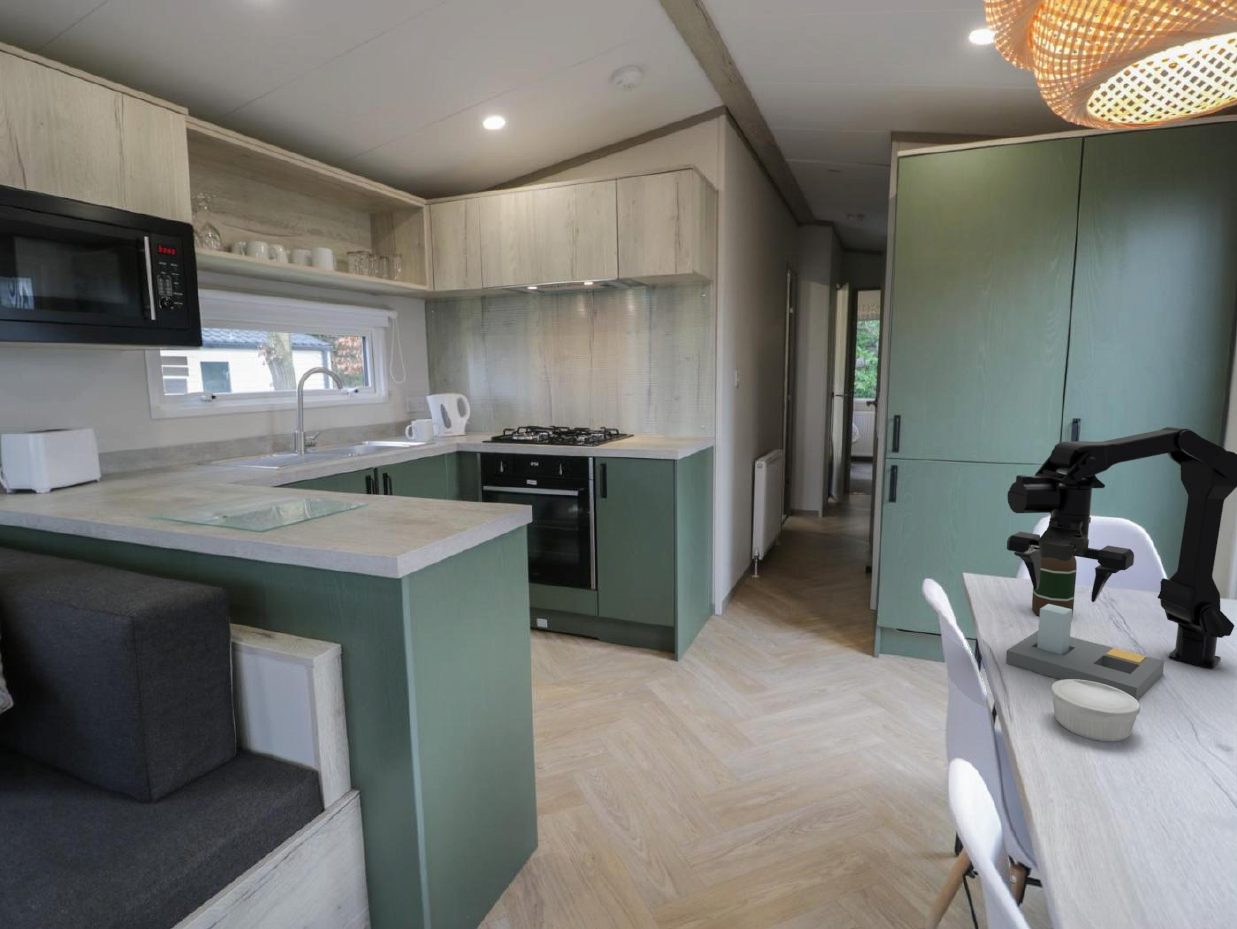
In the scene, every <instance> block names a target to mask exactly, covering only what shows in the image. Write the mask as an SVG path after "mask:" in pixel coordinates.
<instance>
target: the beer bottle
mask: <svg viewBox="0 0 1237 929" xmlns="http://www.w3.org/2000/svg"><path fill="white" fill-rule="evenodd" d="M1049 514H1050V516H1049V517H1050V518H1051V517H1052V512H1050V513H1049ZM1050 518H1049V519H1050ZM1077 570H1078V569H1077V559H1076V556H1072V558H1071V559H1070V560H1069V561H1060V560H1059V559H1055V558H1049V557H1048V558H1044V557H1041V571H1040V583H1039V588H1038V589H1037V590H1035V589H1034V587H1033V586H1032V587H1033V588H1032V598H1031V609H1032V612H1033V613H1034V615H1036V616H1038V617H1040V608H1042V607H1044V606H1045V605H1047V604H1051V605H1056V606H1060V607H1064V608H1069V609H1072V615H1073V614H1074V605H1075V604H1074V603H1075V595H1076V594H1075V592H1076V582H1077V581H1076V580H1077Z"/></svg>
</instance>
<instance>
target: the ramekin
mask: <svg viewBox="0 0 1237 929" xmlns="http://www.w3.org/2000/svg"><path fill="white" fill-rule="evenodd" d="M1050 694H1051V697H1052V702H1053V712H1054V713H1053V714H1054V717H1055V719H1056V720H1057V722H1058V723H1059V724H1060V725H1061V726H1062V727H1063V728H1064V729H1065V730H1068V731H1070V732H1072V733H1073V734H1076V735H1078V736H1081V737H1084V738H1087V739H1090V740H1094V741H1101V742H1108V743H1109V742H1114V743H1115V742H1121V741H1123V740H1125V739H1127V738H1128V737H1129V736H1130V735H1131V734H1132V731H1133V728H1134V725H1135V722H1136V719H1137V717H1138V716H1139V714H1140V711H1141V704H1140V702H1139V701H1138V700H1136V699H1135V698H1134V697H1132V696H1131V695H1129V694H1127V693H1125V692H1123V691H1121V690H1119V689H1116V688H1114V687H1111V686H1108V685H1105V684H1101V683H1097V682H1092V681H1087V680H1078V679H1066V680H1061V679H1059V680H1057V681H1054V683H1052V685H1051V690H1050Z"/></svg>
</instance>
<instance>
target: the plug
mask: <svg viewBox="0 0 1237 929" xmlns="http://www.w3.org/2000/svg"><path fill="white" fill-rule="evenodd" d="M1072 618H1073V614H1072V609H1069V608H1064V607H1060V606H1056V605H1051V604H1047V605H1045V606H1044V607H1042V608H1040V616H1038V619H1039V620H1038V630H1037V631H1038V644H1037V648H1039V649H1042V650H1046V651H1049V652H1053V653H1057V654H1060V655H1066V654H1067V653H1069V643H1070V637H1071V630H1072Z"/></svg>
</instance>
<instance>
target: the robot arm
mask: <svg viewBox="0 0 1237 929" xmlns="http://www.w3.org/2000/svg"><path fill="white" fill-rule="evenodd" d="M1165 454H1167V455H1168V457H1169V458H1170V460H1172V461H1173V462H1175V463H1176V464H1177V465H1178V466H1180V481H1181V483H1182V485H1183V487H1184V489H1185V491H1186V494H1187V504H1186V511H1185V516H1184V517H1185V518H1184V524H1183V530H1182V532H1183V533H1182V538H1181V546H1180V549H1179V550H1180V551H1179V557H1178V558H1179V559H1178V564H1177V565H1178V566H1177V570H1176V572H1175V573H1174V574H1172V576H1170V578H1164V577H1163V578H1161V580H1160V590H1159V593H1158V596H1157V599H1158V600H1160V606H1161V608H1162V609H1163V610H1164V612H1165V617H1166V620H1168V621H1170V622H1173V623H1176V624H1177V631H1176V639H1175V640H1176V641H1175V648H1174V649H1173V650H1172V651H1171V652H1170V653H1169V654H1168V658H1169V659H1172V660H1176V661H1180V662H1184V663H1188V664H1192V665H1196V666H1201V667H1202V668H1208V669H1215V667H1216V666H1217V665H1218V663H1219V662H1220V661H1221V656H1219V655H1216V650H1217V643H1218V639H1219V638H1221V639H1222V638H1224V637H1229V636H1231V635H1232V633H1233V630H1234V628H1235V624H1234V623H1233V622H1232V621H1231V620H1230V619H1229V618H1228V616H1227V615H1225V614H1224V613H1223V611H1221V594H1220V591H1219V589H1218V587H1217V585H1216V583H1215V580H1214V578H1213V574H1214V573H1213V572H1214V566H1215V560H1216V554H1217V546H1218V540H1219V535H1220V529H1221V522H1222V518H1223V517H1222V516H1223V509H1224V503H1225V500H1226V499H1227V498H1228V497H1229V496H1230V495H1231V494H1232V492H1234V491H1235V489H1236V488H1237V453H1236V452H1234V451H1230V450H1227V449H1225V448H1224V447H1222V446H1219V445H1218V444H1215V443H1214V442H1212V441H1211V440H1210V441H1209V440H1208V439H1205V438H1204V437H1202V436H1200V435H1199V434H1197V433H1196V432H1195V431H1193V430H1192V429H1189V428H1184V427H1174V426H1167V427H1164V428H1161V429H1157V430H1153V431H1149V432H1144V433H1139V434H1133V435H1128V436H1124V437H1119V438H1114V439H1109V440H1104V441H1103V440H1102V441H1088V440H1087V441H1085V440H1084V441H1081V440H1080V441H1074V440H1073V441H1062V442H1059V443H1056V444H1055V445H1054V448H1053V449H1052V450H1051V453H1050V455H1049V456H1048V458H1046V460H1045V461H1044V463H1043V464H1042V465H1041V466H1040V468H1039V469H1038V470H1037V471H1036V472H1035V475H1031V476H1030V475H1025V474H1024V475H1023V474H1020V475H1018V474H1017V475H1016V477H1015V482H1013V483H1012V484H1011V485H1010V487H1009V490H1008V491H1007V503H1008V506H1009V508H1010V509H1011V511H1012V512H1013V513H1015V514H1044V513H1045V514H1047V513H1049V514H1050V512H1052V517H1051V516H1050V517H1051V518H1049V521H1048V526H1047V528H1046V530H1044V532H1043V533H1042V535H1041V536H1040V534H1038V533H1037V534H1036V533H1031V532H1024V531H1018V532H1016V533H1014V534H1011V535H1010V536H1009V537H1008V539H1007V541H1006V550H1007V551H1010V552H1014V553H1013V554H1014V556H1017V557H1019V558H1020V559H1021V560H1022V562H1023V563H1024V565H1025V567H1026V569H1027V572H1028V574H1029V578H1030V580H1031V584H1032V587H1034V589H1035V590H1037V589H1038V588H1039V583H1040V571H1041V557H1044V558H1048V557H1049V558H1055V559H1059V560H1060V561H1069V560H1070V559H1071V558H1072V556H1075V557H1079V558H1085V559H1088V560H1089V559H1090V560H1096V561H1097V563H1098V564H1099V565H1097V566H1096V567H1095V568H1094V570H1095V571H1094V573H1095V576H1094V581H1093V586H1092V591H1091V596H1090V597H1091V599H1090V600H1091V602H1092V603H1095V602H1096V601H1097V599H1098V597H1099V595H1100V594H1101V592H1102V590H1103V589H1104V587H1105V586H1106V585H1105V584H1107V582H1108V580H1109V578H1110V577H1111V576H1112V575H1113V574H1117V573H1119V572H1120V571H1126V570H1128V569H1129V568H1130V567H1132V566H1134V562H1135V553H1134V552H1133V551H1132V549H1130V548H1125V547H1119V546H1112V545H1106V546H1104V547H1103V548H1101V549H1099V548H1098V549H1097V548H1093V547H1092V548H1091V547H1089V544H1090V539H1089V531H1090V524H1091V521H1092V516H1091V508H1092V507H1091V505H1092V504H1091V503H1092V497H1093V496H1092V494H1093V489H1104V488H1106V485H1105V483H1104V482H1102V481H1101V480H1099V479H1098V477H1097V475H1098V474H1100V473H1103V472H1105V471H1107V470H1109V469H1110V468H1111V467H1112V466H1114V465H1117V464H1121V463H1125V462H1130V461H1134V460H1140V459H1145V458H1150V457H1155V456H1159V455H1165Z"/></svg>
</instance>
